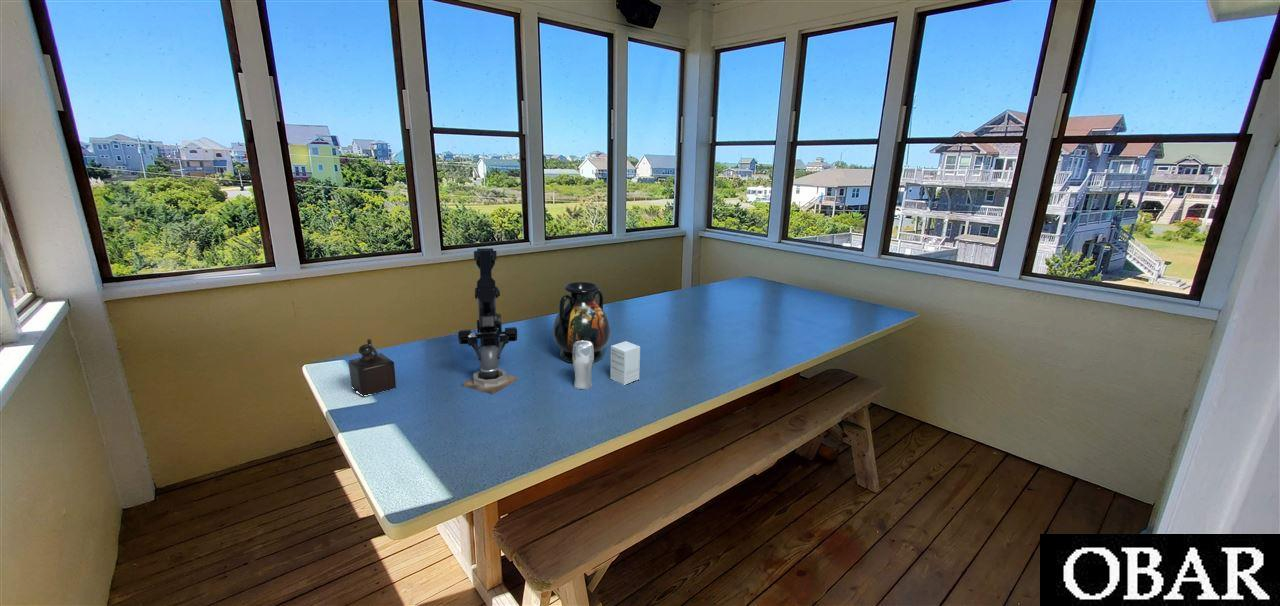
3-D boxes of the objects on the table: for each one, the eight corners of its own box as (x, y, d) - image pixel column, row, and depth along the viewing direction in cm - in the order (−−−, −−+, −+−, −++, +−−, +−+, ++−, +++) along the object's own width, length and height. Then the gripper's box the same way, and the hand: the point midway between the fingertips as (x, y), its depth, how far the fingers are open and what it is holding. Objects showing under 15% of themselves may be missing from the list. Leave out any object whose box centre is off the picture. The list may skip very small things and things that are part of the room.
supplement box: (625, 374, 181) (626, 340, 178) (639, 380, 176) (641, 346, 173) (609, 379, 176) (610, 345, 173) (624, 386, 171) (625, 351, 168)
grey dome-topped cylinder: (478, 375, 170) (476, 347, 168) (494, 371, 174) (493, 343, 171) (485, 381, 166) (484, 352, 163) (502, 377, 170) (500, 349, 167)
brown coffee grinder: (348, 388, 163) (341, 334, 158) (384, 378, 171) (378, 327, 166) (367, 404, 153) (360, 348, 148) (404, 393, 161) (398, 339, 156)
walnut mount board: (462, 385, 168) (462, 377, 167) (488, 372, 179) (488, 364, 178) (492, 394, 163) (492, 385, 162) (517, 379, 174) (517, 371, 173)
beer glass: (589, 391, 167) (590, 348, 163) (569, 389, 168) (569, 346, 164) (596, 382, 173) (596, 341, 169) (576, 380, 175) (576, 339, 171)
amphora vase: (574, 372, 181) (574, 296, 173) (542, 354, 196) (541, 283, 189) (621, 359, 195) (623, 287, 187) (588, 343, 210) (588, 276, 203)
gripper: (456, 306, 165) (456, 351, 158) (516, 304, 170) (519, 347, 163) (459, 322, 174) (459, 365, 167) (515, 319, 179) (518, 360, 172)
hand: (489, 359), depth 167 cm, fingers open, 6 cm apart
